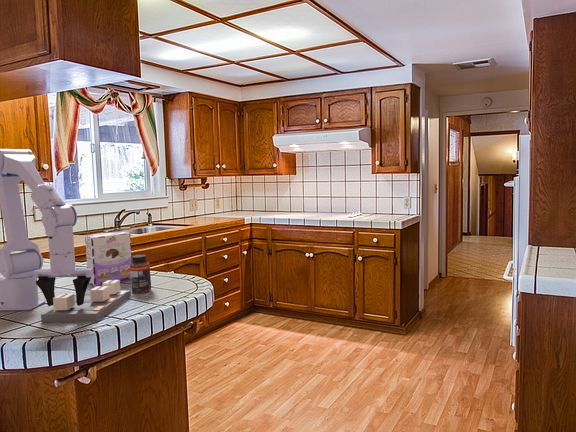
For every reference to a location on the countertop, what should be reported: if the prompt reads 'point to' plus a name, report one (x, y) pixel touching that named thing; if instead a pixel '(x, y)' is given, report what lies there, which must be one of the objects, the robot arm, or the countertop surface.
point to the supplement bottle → (140, 274)
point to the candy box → (109, 257)
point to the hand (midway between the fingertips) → (65, 304)
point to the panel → (86, 309)
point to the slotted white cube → (64, 301)
